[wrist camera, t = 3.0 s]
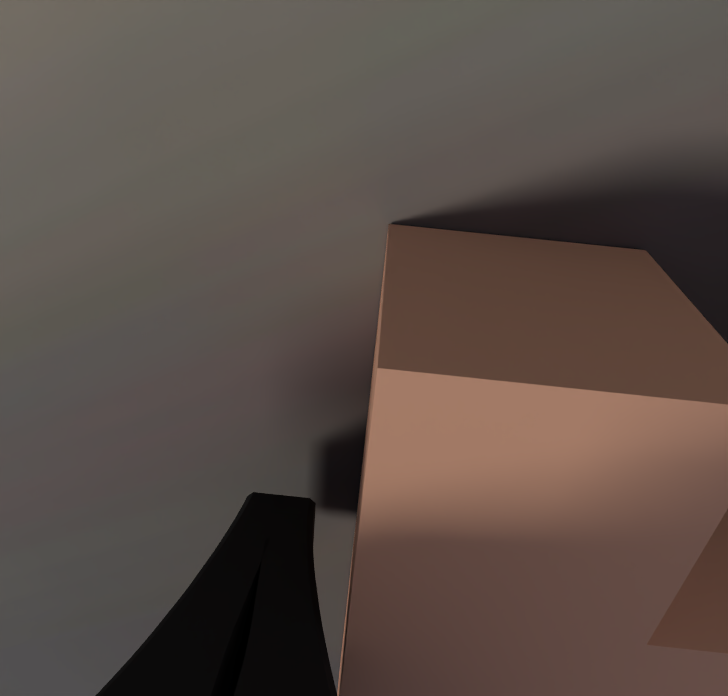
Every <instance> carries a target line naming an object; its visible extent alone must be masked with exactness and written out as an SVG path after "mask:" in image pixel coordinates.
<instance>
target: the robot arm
mask: <svg viewBox="0 0 728 696" xmlns="http://www.w3.org/2000/svg"><path fill="white" fill-rule="evenodd" d="M315 504H316V503H315V502H313V501H312V500H311V499H310V498H302V497H293V496H284V495H274V494H265V493H256V492H253V493H252V494H250V495H248V496H247V498H246V500H245V502H244V504H243V506H242V508H241V509H240V511H239V513H238V515H237V516H236V518H235V520H234V521H233V523H232V525H231V526H230V528H229V529H228V531H227V532H226V534H225V536H224V537H223V539H222V540H221V542H220V543H219V545H218V546H217V548H216V549H215V551H214V552H213V554H212V555H211V556H210V558H209V559H208V561H207V562H206V563H205V565H204V566H203V568H202V569H201V570H200V572H199V573H198V575H197V576H196V577H195V579H194V580H193V582H192V583H191V584H190V586H189V587H188V588H187V590H186V591H185V592H184V594H183V595H182V596H181V597H180V599H179V600H178V601H177V602H176V604H175V605H174V606H173V607H172V609H171V610H170V611H169V612H168V614H167V615H166V616H165V617H164V619H163V620H162V621H161V622H160V624H159V625H158V626H157V627H156V629H155V630H154V631H153V632H152V634H151V635H150V636H149V637H148V638H147V639H146V641H145V642H144V643H143V644H142V645H141V646H140V648H139V649H138V650H137V651H136V652H135V653H134V654H133V656H132V657H131V658H130V659H129V660H128V661H127V662H126V663H125V665H124V666H123V667H122V668H121V669H120V670H119V671H118V672H117V673H116V674H115V675H114V677H113V678H112V679H111V680H110V681H109V682H108V683H107V684H106V685H105V686H104V687H103V688H102V689H101V690H100V692H99V693H98V694H97V695H96V696H337V692H336V688H335V684H334V680H333V676H332V671H331V667H330V662H329V658H328V653H327V648H326V643H325V638H324V633H323V627H322V621H321V616H320V610H319V602H318V595H317V587H316V580H315V571H314V558H313V540H314V522H315Z"/></svg>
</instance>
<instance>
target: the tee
mask: <svg viewBox="0 0 728 696" xmlns="http://www.w3.org/2000/svg"><path fill="white" fill-rule="evenodd" d="M337 696H728V344H727V342H726V341H725V340H724V339H723V338H722V337H721V336H720V334H719V333H718V332H717V331H716V330H715V329H714V328H713V326H712V325H711V324H710V323H709V322H708V321H707V320H706V318H705V317H704V316H703V315H702V314H701V313H700V312H699V310H698V309H697V308H696V307H695V306H694V305H693V304H692V302H691V301H690V300H689V299H688V298H687V297H686V296H685V294H684V293H683V292H682V291H681V290H680V289H679V288H678V286H677V285H676V284H675V283H674V282H673V281H672V280H671V278H670V277H669V276H668V275H667V274H666V273H665V272H664V270H663V269H662V268H661V267H660V266H659V265H658V264H657V262H656V261H655V260H654V259H653V258H652V257H651V256H650V254H649V253H648V252H647V251H646V250H639V249H629V248H620V247H610V246H600V245H590V244H580V243H571V242H561V241H551V240H541V239H532V238H522V237H512V236H502V235H492V234H483V233H473V232H463V231H453V230H444V229H434V228H424V227H414V226H404V225H395V224H389V227H388V236H387V245H386V254H385V263H384V272H383V281H382V290H381V299H380V309H379V318H378V327H377V336H376V345H375V354H374V363H373V372H372V381H371V390H370V399H369V408H368V417H367V426H366V435H365V444H364V453H363V463H362V472H361V481H360V490H359V499H358V508H357V517H356V526H355V535H354V544H353V553H352V562H351V571H350V580H349V589H348V598H347V607H346V616H345V626H344V635H343V644H342V653H341V662H340V673H339V683H338V693H337Z"/></svg>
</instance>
